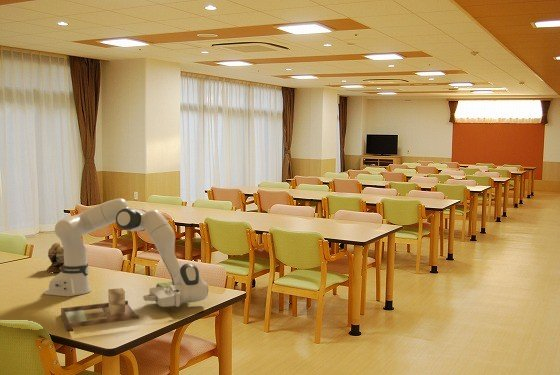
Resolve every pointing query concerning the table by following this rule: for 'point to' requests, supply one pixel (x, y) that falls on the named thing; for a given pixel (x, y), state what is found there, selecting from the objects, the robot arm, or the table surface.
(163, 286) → the washcloth
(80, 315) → the tray
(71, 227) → the robot arm
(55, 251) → the owl figurine
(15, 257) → the table surface
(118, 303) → the maple block
